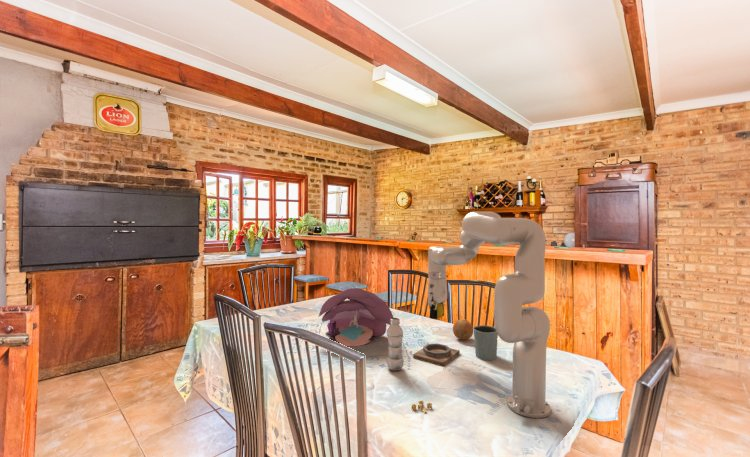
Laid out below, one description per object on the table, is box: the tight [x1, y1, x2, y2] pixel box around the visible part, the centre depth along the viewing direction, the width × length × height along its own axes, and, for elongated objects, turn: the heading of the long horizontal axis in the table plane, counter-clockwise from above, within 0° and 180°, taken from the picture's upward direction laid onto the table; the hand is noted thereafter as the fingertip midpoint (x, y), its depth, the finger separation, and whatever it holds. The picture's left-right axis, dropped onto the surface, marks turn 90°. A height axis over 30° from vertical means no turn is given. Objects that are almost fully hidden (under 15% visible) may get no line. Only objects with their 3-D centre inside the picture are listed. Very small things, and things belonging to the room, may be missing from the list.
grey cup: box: [473, 325, 499, 361], centre depth 150 cm, size 10×10×12 cm
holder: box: [412, 342, 461, 367], centre depth 151 cm, size 16×14×3 cm
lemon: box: [432, 303, 445, 321], centre depth 150 cm, size 6×6×8 cm
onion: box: [452, 318, 474, 341], centre depth 171 cm, size 10×10×10 cm
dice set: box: [411, 399, 433, 413], centre depth 109 cm, size 5×5×2 cm
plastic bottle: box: [386, 317, 404, 372], centre depth 137 cm, size 6×7×20 cm
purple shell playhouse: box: [318, 287, 395, 347], centre depth 172 cm, size 35×24×28 cm
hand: (437, 316), depth 151 cm, fingers closed on lemon, 5 cm apart
